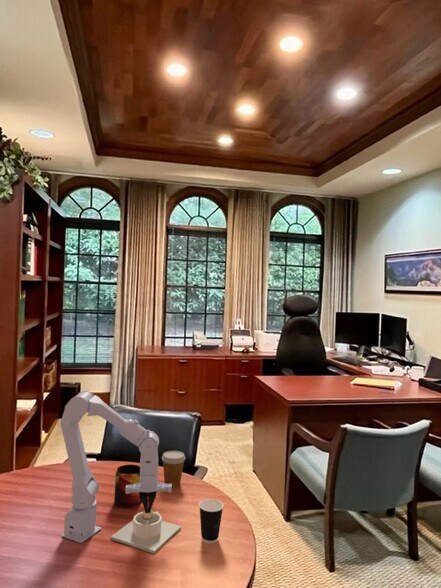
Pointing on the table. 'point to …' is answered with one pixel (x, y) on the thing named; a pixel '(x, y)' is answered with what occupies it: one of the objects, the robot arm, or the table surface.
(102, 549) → the table surface
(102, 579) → the table surface
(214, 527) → the dixie cup
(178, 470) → the disposable coffee cup
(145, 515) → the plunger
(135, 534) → the white square-based fixture
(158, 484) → the robot arm
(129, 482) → the mug
